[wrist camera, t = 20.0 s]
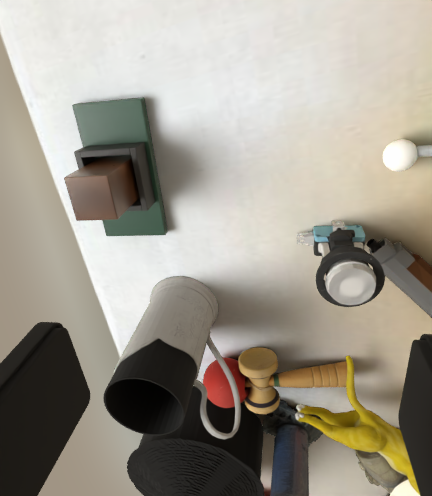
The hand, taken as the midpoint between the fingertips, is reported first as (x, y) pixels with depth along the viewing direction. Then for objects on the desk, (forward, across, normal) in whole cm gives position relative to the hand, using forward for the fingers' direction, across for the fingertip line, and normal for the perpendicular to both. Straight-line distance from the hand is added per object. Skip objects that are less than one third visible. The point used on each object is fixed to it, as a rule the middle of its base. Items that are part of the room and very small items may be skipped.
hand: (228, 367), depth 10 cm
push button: (+28, -6, +10) cm, 31 cm away
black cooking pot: (+28, +11, +42) cm, 52 cm away
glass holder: (+28, +9, +21) cm, 37 cm away
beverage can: (+28, -2, +39) cm, 48 cm away
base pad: (+28, +15, +2) cm, 32 cm away
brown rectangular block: (+27, +15, +2) cm, 31 cm away
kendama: (+28, 0, +28) cm, 40 cm away
